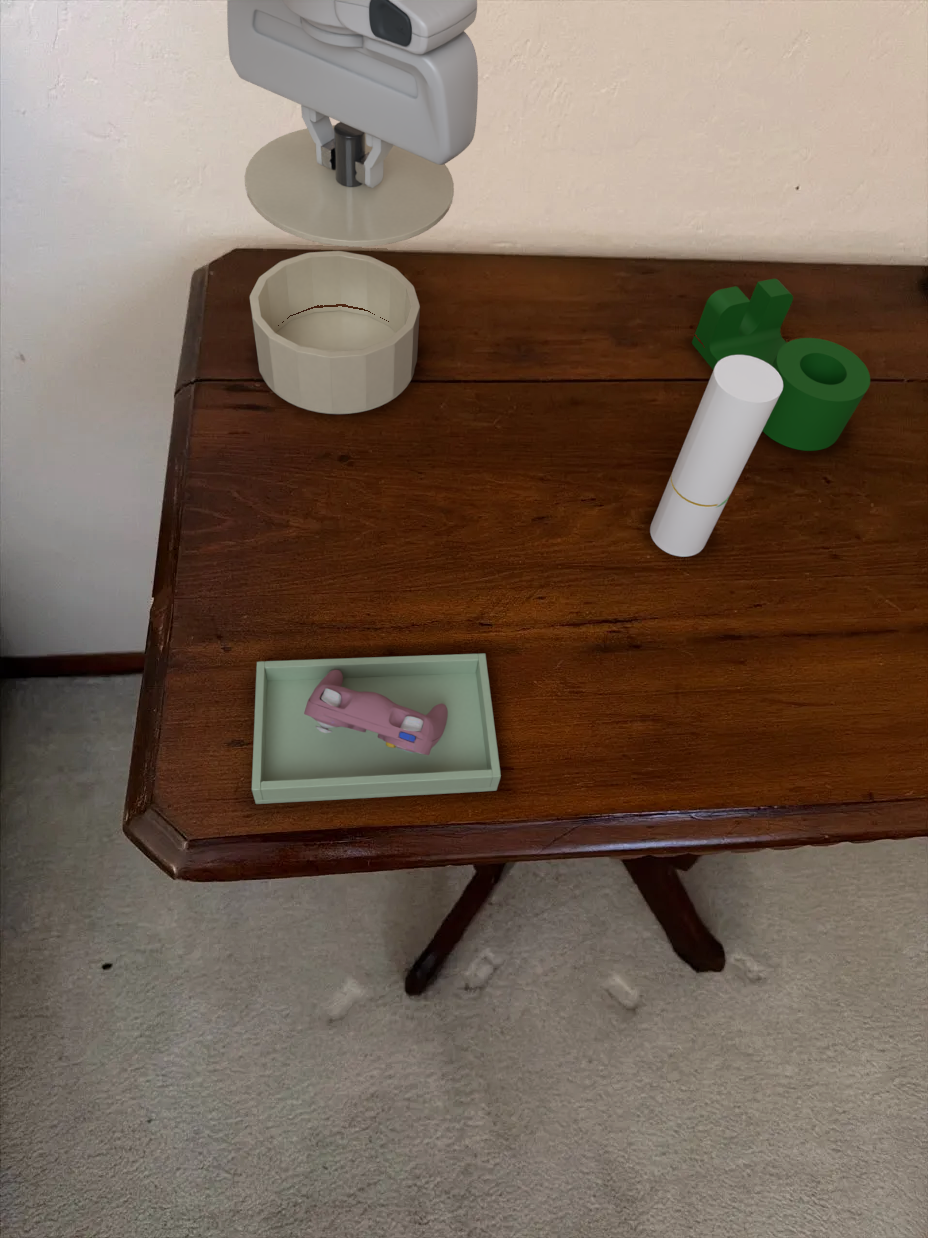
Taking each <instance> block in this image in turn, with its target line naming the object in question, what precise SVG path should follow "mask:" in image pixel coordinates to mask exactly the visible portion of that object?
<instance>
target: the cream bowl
mask: <svg viewBox="0 0 928 1238" xmlns="http://www.w3.org/2000/svg"><path fill="white" fill-rule="evenodd" d="M249 303H250V312H251V318H252V319H251V320H252V327H253V333H254V341H255V350H256V356H257V363H258V370H259V374H260V375H261V377H262V379H263V381H264V382H265V383H266V385H267V386H268V388H269V389H271V391H272V392H273V393H274V394H275V395H277V396H278V397H279V398H281V399H283V400H284V401H286V402H287V403H289V404H291V405H293V406H296V407H297V408H301V409H304V410H306V411H311V412H315V413H320V414H327V415H348V414H349V415H351V414H358V413H363V412H367V411H371V410H373V409H376V408H380V407H381V406H383V405H386V404H388V403H389V402H391V401H392V400H394V399H396V398H397V397H398V396H399V395H401V394H402V393H403V392H404V391H405V389H407V387H408V386H409V385H410V383H411V381H412V379H413V376H414V374H415V370H416V365H417V362H418V350H419V349H418V348H419V328H420V311H421V305H420V302H419V299H418V296H417V293H416V289H415V286H414V285H413V284H412V283H411V282H410V281H409V280H408V279H407V278H406V276H404V275H403V273H401V272H400V271H399V270H398V269H397V268H396V267H394V266H391V265H390V264H387V263H386V262H383V261H382V260H379V259H376V258H375V257H373V256H370V255H366V254H359V253H354V252H349V251H342V250H332V251H331V250H330V251H329V250H328V251H315V252H314V251H313V252H312V251H311V252H306V253H303V254H299V255H297V256H293V257H289V258H287V259H283V260H281V261H279V262H278V263H276V264H275V265H274V266H272V267H271V268H269V269H268V270H267V271H265V272H264V273H262V274H261V275H260V276H259V277H258V279H257V281H256V283H255V284H254V287H253V289H252V290H251V293H250V294H249ZM336 304H346V305H348V306H353V307H358V308H363V309H365V310H368V311H370V312H371V313H370V312H368V311H364V310H359V309H353V308H348V307H342V306H338V307H323V308H313V309H310V310H307V311H304V312H301V311H303V310H306V309H308V308H311V307H314V306H317V305H319V306H320V305H323V306H324V305H336ZM298 312H301V313H299V314H296V313H298ZM372 313H373V314H372ZM293 314H296V315H293ZM374 314H375V315H374ZM290 315H293V316H290ZM289 316H290V317H289ZM288 317H289V318H288ZM380 317H381V318H380ZM287 318H288V319H287ZM382 318H383V319H382ZM384 319H385V320H384ZM386 320H387V321H386ZM283 321H284V322H283ZM388 321H389V322H388ZM282 322H283V323H282ZM278 325H279V326H278Z"/></svg>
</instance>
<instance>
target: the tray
mask: <svg viewBox="0 0 928 1238" xmlns="http://www.w3.org/2000/svg"><path fill="white" fill-rule="evenodd" d="M487 663H488V662H487V654H486V653H483V652H482V653H459V654H432V655H431V654H429V655H428V654H427V655H403V656H402V655H401V656H400V655H399V656H375V657H374V656H373V657H349V658H347V657H345V658H320V659H319V658H318V659H316V658H315V659H290V660H287V659H286V660H266V661H265V660H263V661H256V669H255V670H256V671H255V692H254V693H255V694H254V695H255V697H254V719H253V720H254V721H253V722H254V723H253V744H252V769H251V770H252V772H251V792H252V795H253V799H254V802H255V805H264V804H281V803H300V802H301V803H302V802H318V801H335V800H336V801H337V800H353V799H371V798H374V799H375V798H391V797H407V796H408V797H409V796H424V795H425V796H428V795H442V794H444V795H445V794H461V793H462V794H463V793H480V792H496V791H498V787H499V784H500V781H501V776H502V775H501V774H502V773H501V767H500V766H501V765H500V759H499V757H500V756H499V749H498V741H497V735H496V733H497V732H496V726H495V725H496V724H495V719H494V710H493V702H492V694H491V687H490V678H489V672H488V664H487ZM332 670H340V671H341V673H342V675H343V682H342V686H341V687H345V688H348V689H351V690H354V691H358V692H375V693H378V694H381V695H383V696H385V697H387V698H388V699H390V700H391V701H392V702H394V703H396V704H398V705H400V706H403V707H406V708H409V709H412V710H414V711H417V712H419V713H422V714H424V715H427V714H428V713H429V712H430V711H431V710H432V708H433V707H434V706H436V705H438V704H441V703H442V704H444V705H446V707H447V710H448V717H447V722H446V726H445V729H444V732H443V734H442V736H441V738H440V739H439V741H438V742H437V743H436V744H435V746H434V747H432V748H431V751H430V754H429V755H425V754H420V753H417V752H415V753H410V752H407V751H404V750H401V749H398V748H397V747H395V748H390V747H388V746H386V742H385V741H383V740H382V739H380V738H378V734H379V733H376V732H373V731H369V730H366V732H361V731H357V730H353V729H350V728H346V727H333V728H328V729H329V730H331V731H332V732H331V733H324V732H321V731H319V730H318V729H317V728H316V726H319V727H321V725H320V724H319V723H318V722H317V721H316V720H315V719H313V718H312V717H311V716H308V715H305V714H304V712H305V708H306V705H307V702H308V699H309V698H310V697H311V695H312V693H313V691H314V689H315V688H316V687H317V685H318V684H319V683H320V682H321V681H322V679H323V678H324V677H325V676H326V675H327V674H328V673H329V672H330V671H332Z"/></svg>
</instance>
